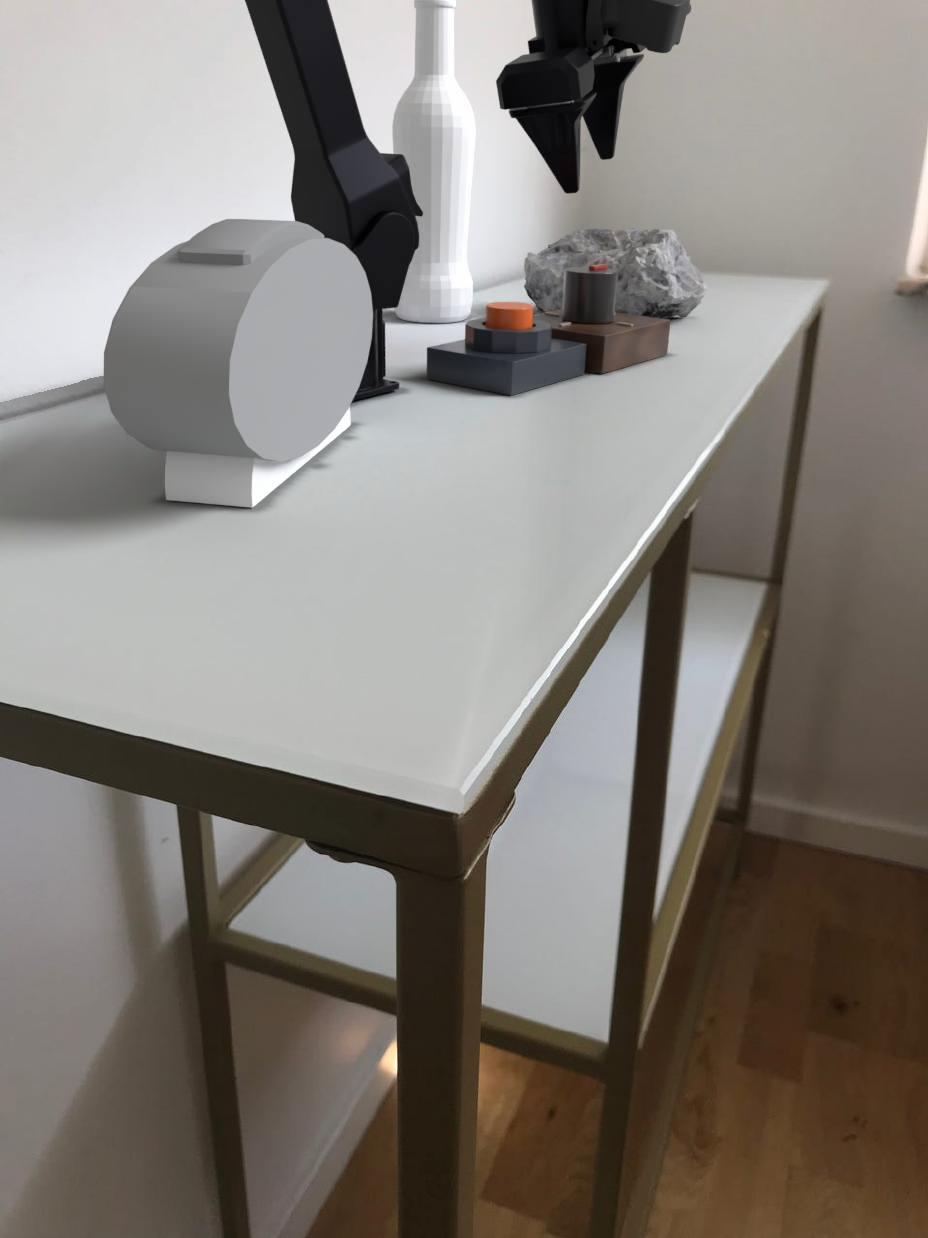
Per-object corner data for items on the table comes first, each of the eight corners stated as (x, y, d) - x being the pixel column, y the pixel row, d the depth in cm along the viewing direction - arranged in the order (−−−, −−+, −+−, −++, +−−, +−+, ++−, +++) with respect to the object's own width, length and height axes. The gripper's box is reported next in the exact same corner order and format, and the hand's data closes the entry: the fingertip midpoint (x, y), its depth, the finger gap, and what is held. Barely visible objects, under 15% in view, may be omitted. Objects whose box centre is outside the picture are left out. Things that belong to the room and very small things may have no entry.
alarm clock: (286, 407, 70) (276, 205, 64) (374, 413, 69) (371, 208, 63) (117, 519, 49) (81, 236, 44) (239, 531, 48) (217, 242, 43)
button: (514, 334, 76) (515, 310, 76) (475, 328, 78) (476, 305, 78) (541, 328, 79) (542, 305, 78) (503, 323, 81) (504, 300, 80)
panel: (602, 374, 82) (605, 333, 80) (500, 356, 87) (501, 318, 86) (667, 354, 90) (671, 317, 88) (570, 339, 95) (572, 304, 94)
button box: (511, 395, 74) (513, 339, 73) (426, 379, 79) (426, 325, 77) (584, 374, 82) (588, 322, 80) (503, 360, 86) (504, 310, 84)
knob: (596, 325, 84) (600, 270, 82) (551, 319, 87) (554, 265, 85) (623, 319, 87) (627, 266, 86) (579, 313, 90) (583, 261, 88)
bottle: (486, 316, 106) (497, -25, 93) (444, 327, 100) (448, -37, 87) (422, 308, 110) (423, -20, 97) (376, 318, 104) (371, -32, 91)
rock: (717, 299, 111) (719, 202, 106) (693, 350, 100) (694, 246, 95) (555, 299, 118) (548, 208, 112) (516, 348, 107) (507, 249, 101)
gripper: (637, -53, 64) (657, 203, 73) (706, -89, 77) (716, 133, 86) (476, -23, 69) (513, 215, 78) (566, -61, 82) (589, 146, 91)
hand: (590, 174), depth 83 cm, fingers open, 9 cm apart
